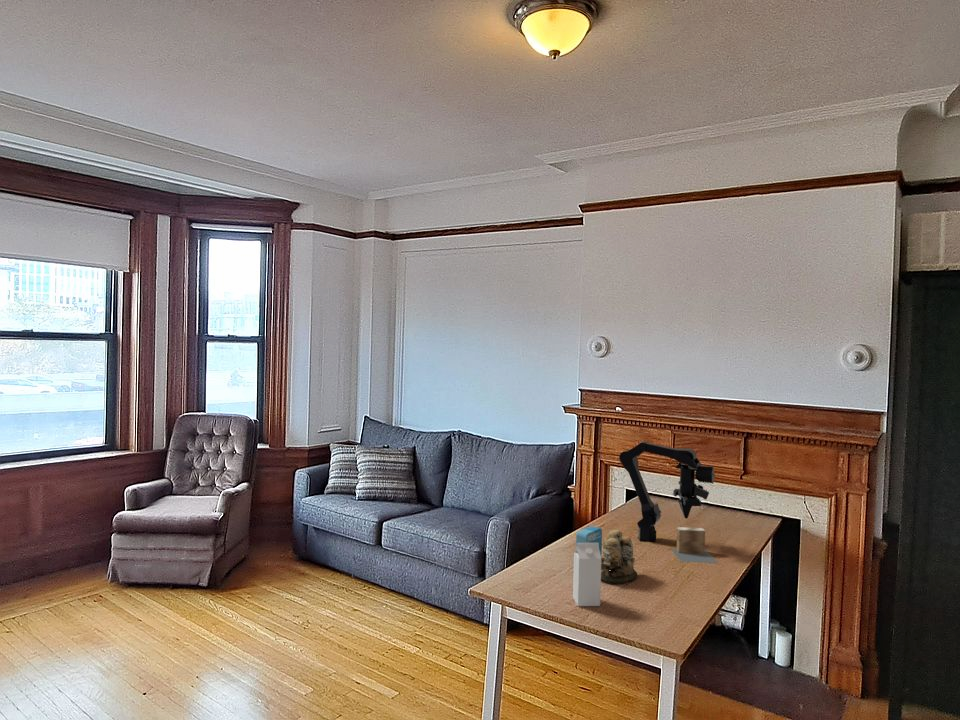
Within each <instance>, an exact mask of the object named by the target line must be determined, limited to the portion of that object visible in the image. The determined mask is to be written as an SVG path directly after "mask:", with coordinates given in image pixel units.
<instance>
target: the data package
mask: <svg viewBox="0 0 960 720" xmlns="http://www.w3.org/2000/svg"><path fill="white" fill-rule="evenodd" d="M602 542H603V529H602V528H600V527H596V526H592V525H591V526H588V527H585V528H582V529H580V530H578V531H577V532H576V537H575V548H576V547H577V543H599V550H600V555H601V556H602V554H603V543H602Z"/></svg>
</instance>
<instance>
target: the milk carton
mask: <svg viewBox="0 0 960 720" xmlns="http://www.w3.org/2000/svg"><path fill="white" fill-rule="evenodd" d="M601 572H602V554H601V555H600V550H599V543H577V547H576V546H575V549H574V551H573V575H572V576H573V578H572V579H573V580H572V581H573V582H572V598H573V600H574V601H575V604H576V606H577V607H601V592H602V591H601V586H602V585H601V584H602V581H601Z"/></svg>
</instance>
